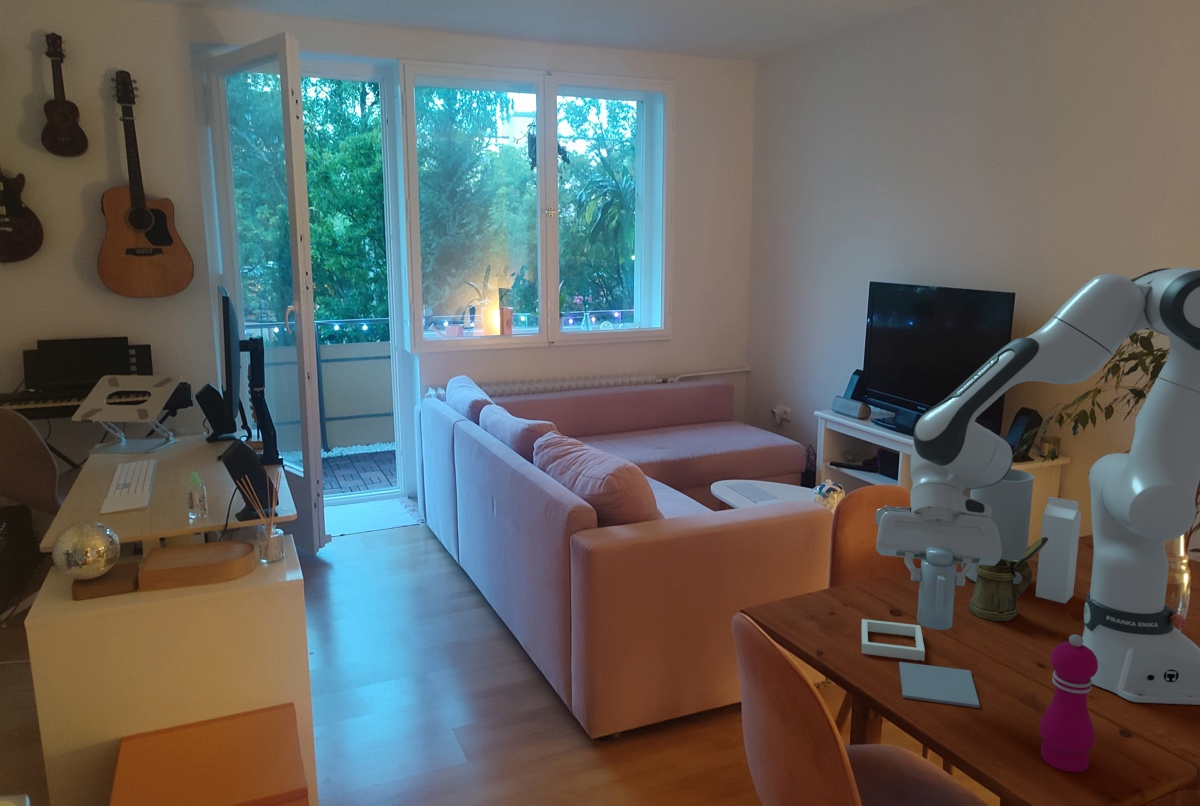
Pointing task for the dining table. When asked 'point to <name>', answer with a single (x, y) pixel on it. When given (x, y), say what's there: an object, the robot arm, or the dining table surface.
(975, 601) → the wooden mug
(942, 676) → the mat
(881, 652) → the holder
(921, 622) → the blue capped bottle
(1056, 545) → the milk
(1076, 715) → the pepper mill
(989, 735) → the dining table surface
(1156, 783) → the dining table surface
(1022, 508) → the cylinder vase
